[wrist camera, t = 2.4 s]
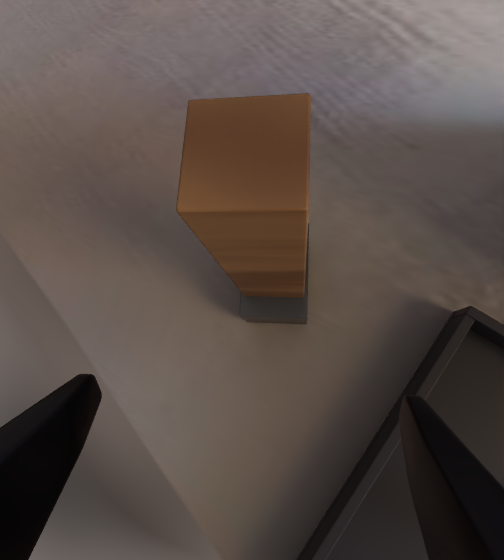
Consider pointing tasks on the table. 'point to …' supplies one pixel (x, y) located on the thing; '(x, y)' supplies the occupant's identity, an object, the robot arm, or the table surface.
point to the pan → (389, 451)
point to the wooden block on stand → (252, 197)
